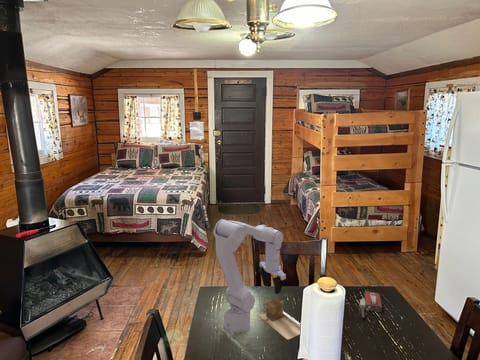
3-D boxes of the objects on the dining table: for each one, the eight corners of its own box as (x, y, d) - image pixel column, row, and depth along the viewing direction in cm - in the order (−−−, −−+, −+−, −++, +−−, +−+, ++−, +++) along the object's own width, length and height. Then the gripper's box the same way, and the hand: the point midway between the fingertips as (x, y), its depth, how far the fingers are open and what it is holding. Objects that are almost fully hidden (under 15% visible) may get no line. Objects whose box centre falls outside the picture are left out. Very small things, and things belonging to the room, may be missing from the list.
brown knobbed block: (269, 322, 136) (269, 308, 135) (263, 317, 139) (263, 303, 138) (285, 316, 140) (286, 302, 139) (279, 311, 143) (279, 297, 142)
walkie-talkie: (358, 295, 160) (360, 320, 141) (359, 286, 159) (360, 310, 140) (379, 298, 157) (383, 324, 138) (380, 289, 156) (384, 313, 137)
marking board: (287, 343, 126) (287, 335, 126) (257, 318, 141) (257, 311, 140) (306, 334, 131) (306, 327, 130) (275, 311, 146) (275, 304, 145)
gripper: (292, 262, 139) (291, 293, 142) (269, 249, 151) (268, 279, 153) (278, 266, 135) (277, 299, 138) (255, 253, 147) (255, 283, 150)
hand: (271, 289), depth 145 cm, fingers open, 7 cm apart
